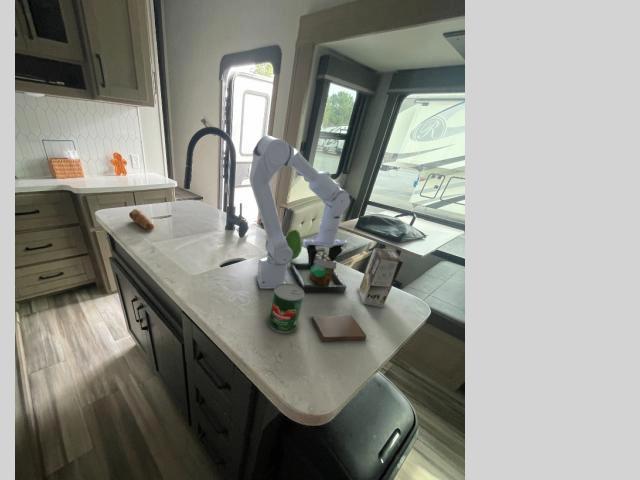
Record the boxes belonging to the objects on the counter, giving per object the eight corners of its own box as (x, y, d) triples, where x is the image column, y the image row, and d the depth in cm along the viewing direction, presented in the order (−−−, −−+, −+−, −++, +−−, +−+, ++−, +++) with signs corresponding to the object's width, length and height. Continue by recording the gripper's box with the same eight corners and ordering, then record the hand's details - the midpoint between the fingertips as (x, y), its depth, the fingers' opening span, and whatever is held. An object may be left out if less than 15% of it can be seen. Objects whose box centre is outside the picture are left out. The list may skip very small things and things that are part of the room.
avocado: (291, 252, 115) (296, 225, 108) (303, 260, 109) (309, 232, 102) (276, 255, 112) (280, 227, 105) (287, 263, 106) (292, 234, 99)
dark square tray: (302, 293, 89) (303, 286, 88) (289, 268, 103) (290, 262, 102) (344, 292, 91) (346, 286, 90) (326, 268, 105) (327, 263, 104)
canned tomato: (270, 332, 72) (275, 299, 66) (267, 314, 79) (272, 282, 72) (299, 333, 72) (307, 300, 66) (294, 315, 79) (301, 283, 73)
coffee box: (383, 307, 85) (404, 262, 76) (362, 304, 86) (380, 258, 77) (377, 292, 93) (395, 249, 83) (358, 289, 93) (374, 246, 84)
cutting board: (322, 341, 71) (323, 337, 70) (311, 319, 78) (312, 315, 77) (364, 340, 72) (366, 336, 71) (350, 318, 79) (351, 315, 78)
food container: (302, 271, 102) (307, 247, 96) (317, 271, 102) (324, 247, 97) (312, 289, 92) (318, 262, 86) (329, 289, 92) (337, 263, 87)
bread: (142, 218, 138) (140, 207, 135) (156, 231, 126) (155, 219, 123) (129, 220, 135) (127, 209, 131) (143, 233, 122) (141, 221, 119)
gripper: (311, 231, 82) (302, 270, 90) (355, 232, 84) (343, 271, 91) (304, 223, 88) (296, 261, 95) (346, 225, 89) (335, 261, 97)
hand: (319, 265), depth 94 cm, fingers closed on food container, 6 cm apart
